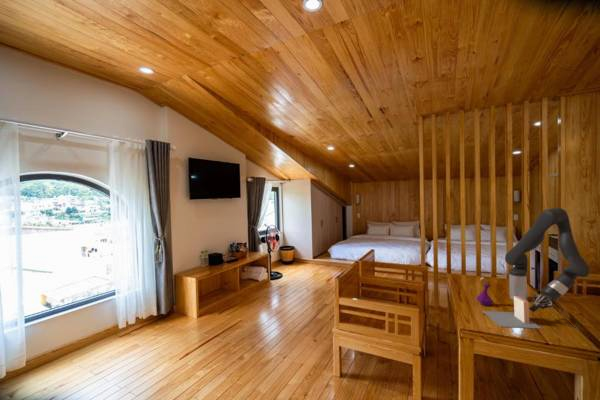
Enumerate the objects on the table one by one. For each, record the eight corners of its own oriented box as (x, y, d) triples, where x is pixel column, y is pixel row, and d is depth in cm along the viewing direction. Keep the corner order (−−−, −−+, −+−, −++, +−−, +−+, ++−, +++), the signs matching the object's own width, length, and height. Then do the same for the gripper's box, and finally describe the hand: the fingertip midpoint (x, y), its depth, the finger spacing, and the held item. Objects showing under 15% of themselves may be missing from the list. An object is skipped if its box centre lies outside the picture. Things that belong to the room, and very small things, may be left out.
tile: (514, 316, 156) (513, 296, 157) (519, 316, 156) (518, 296, 156) (524, 323, 148) (523, 301, 148) (529, 323, 147) (528, 302, 147)
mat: (482, 311, 165) (482, 311, 165) (518, 313, 161) (518, 312, 161) (500, 326, 145) (500, 326, 145) (542, 329, 141) (542, 328, 141)
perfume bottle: (489, 302, 178) (487, 276, 178) (493, 307, 171) (492, 279, 171) (476, 301, 180) (475, 275, 180) (480, 306, 173) (479, 279, 173)
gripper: (540, 281, 156) (518, 301, 158) (558, 289, 143) (533, 310, 145) (551, 290, 155) (528, 310, 157) (570, 299, 142) (544, 320, 144)
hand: (531, 310), depth 151 cm, fingers closed
